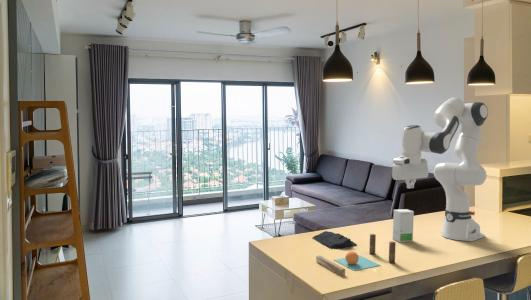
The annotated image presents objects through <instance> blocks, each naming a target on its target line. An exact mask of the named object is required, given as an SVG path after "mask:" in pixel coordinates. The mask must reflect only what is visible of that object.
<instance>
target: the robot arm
mask: <svg viewBox="0 0 531 300" xmlns="http://www.w3.org/2000/svg"><path fill="white" fill-rule="evenodd" d="M488 115H489V111H488V107H487V105H486V104H485V103H484V102H481V101H475V102H468V103H467V102H466V103H465V102H464V100H463V99H461V98H459V97H457V96H455V97H454V96H453V97H451V98H449V99H447V100H445V101H444V102H442V104H440V105H439V107H438V108H437V109H436V110H435V112H434V113H433V120H434V122H435V124H436V125H437V126H438V127H439V128H441V129H443V130H442V131H437V132H434V131H433V132H432V131H431V132H430V131H429V132H428V131H427V132H426V131H424V130H422V128H421V127H422V126H420V125H418V124H410V125H406V126H404V128H403V131H402V137H401V146H402V150H401V154H400V155H399V156H398V157H395V158H393V159H392V163H393V164H392V170H391V177H392V179H393V180H395V181H404V183H405V184H406V189H414V188H415V183H416V181H417V179H425V178H428V177H429V166H428V165H429V164H428V160H427V159H425V158H422V152H423V153H433V154H439V155H442V154H444V153H446V152H447V151H448V150H449V148H450V145H451V141H452V140H453V138H454V136H455V135H456V132H457V130H458V128H459V126H461V129H460V131H459V133H458V136H457V138H456V142H455V146H454V149H453V153H454V155H455V156H456V157H457V158H458V159H459V160H461V162H448V161H446V162H445V161H444V162H438V163H437V164H436V165H435V167H434V169H433V176H434V178H435V180H436V181H438V183H440V185H441V186H442V188H443V191H444V192H445V193H444V194H445V198H446V199H445V200H446V201H445V202H446V204H445V207H446V208H445V209H444V210H445V211H444V216H445V218H444V219H443V224H442V229H441V231H440V233H441V236H442V237H444V238H446V239H450V240H455V241H466V242H474V241H477V240H480V239H483V238H484V237H486V234H485V233H482V232H481V226H480V224H479V223H478V222H477V221H476V220H474V219H473V218H472V216H475V214H476V212H475V211H474V210H473V211H472V210H470V205H471V204H470V203H471V201H470V200H471V199H470V195H469V194H468V193H467V192H465V191H464V190H463V189H462V188H461V187H460V185H461V186H462V185H463V186H469V187H471V186H481V185H483V184H484V183H485V182H486V180H487V171H486V169H485V168H484V167H483V166H482V165H481V164H480V162H479V161H478V151H479V147H480V143H481V140H482V139H481V138H482V126H483V124H484V123H485V121H486V119H487V118H488Z"/></svg>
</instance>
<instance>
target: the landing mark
mask: <svg viewBox="0 0 531 300" xmlns="http://www.w3.org/2000/svg"><path fill="white" fill-rule="evenodd" d="M358 257H359V260H358V262H357V263H356V264H354V265H351V264H348V263H347V261H346V259H345V257H342V258H337V259H333V262H334V261H335V263H338V264H341V265H342V266H345V267H346V268H347V269H349V270H352V271H353V272H355V271H356V272H357V271H359V270H367V269H370V268H374V267H375V268H376V267H380V266H381V264H378V263H377V262H374V261H373V260H371V259H368V258H366V257H364V256H362V255H361V254H360V255H359V254H358Z"/></svg>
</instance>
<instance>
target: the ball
mask: <svg viewBox="0 0 531 300" xmlns="http://www.w3.org/2000/svg"><path fill="white" fill-rule="evenodd" d="M358 255H359V254H358V253H357V252H355V251H353V250H352V251H348V252H347V253H346V254H345V257H344V258H345V259H346V261H347V263H348V264H351V265H354V264H356V263H357V262H358V260H359V257H358Z"/></svg>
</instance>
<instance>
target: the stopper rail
mask: <svg viewBox="0 0 531 300" xmlns="http://www.w3.org/2000/svg"><path fill="white" fill-rule="evenodd" d="M315 257H316V260H315V261H316V263H318V264H320V265H322V266H323V267H324V268H327V269H329V270H330V271H331V272H334V273H336V274H337V275H339V276H340V277H343V276H346V268H344V267H343V266H341V265H339V264H337V263H336V262H334V261H331V260H330V259H328V258H326V257H324V256H322V255H316V256H315Z"/></svg>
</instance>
